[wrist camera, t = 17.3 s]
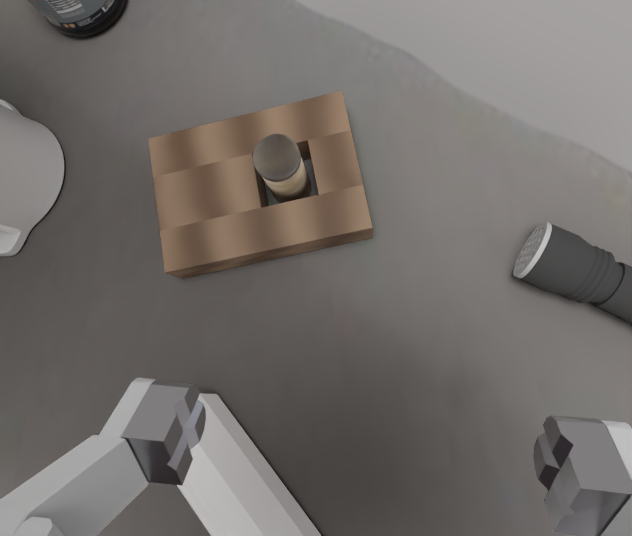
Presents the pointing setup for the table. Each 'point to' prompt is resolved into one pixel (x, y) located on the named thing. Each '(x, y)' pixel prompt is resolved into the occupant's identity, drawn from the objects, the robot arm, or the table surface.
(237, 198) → the socket block
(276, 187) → the beech pin
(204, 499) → the white faceted prism
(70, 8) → the supplement container
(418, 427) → the table surface
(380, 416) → the table surface
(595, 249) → the flashlight
